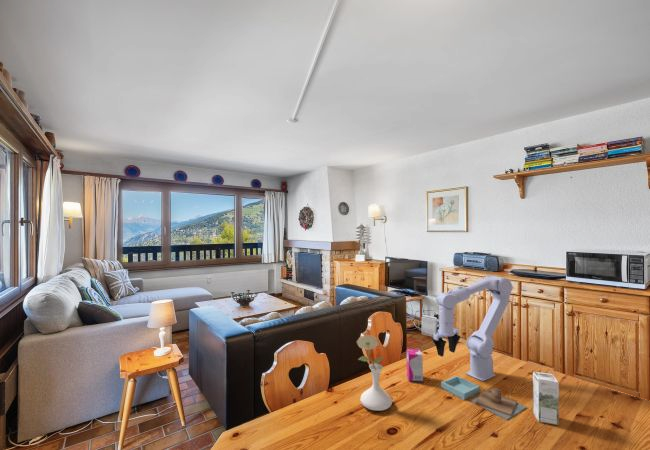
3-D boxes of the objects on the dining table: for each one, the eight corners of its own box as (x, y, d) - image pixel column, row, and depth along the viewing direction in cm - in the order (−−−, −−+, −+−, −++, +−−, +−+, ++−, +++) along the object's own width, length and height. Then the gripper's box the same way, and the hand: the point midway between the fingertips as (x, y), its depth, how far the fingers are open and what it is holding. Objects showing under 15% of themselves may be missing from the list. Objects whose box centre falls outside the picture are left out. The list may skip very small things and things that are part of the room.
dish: (456, 381, 125) (456, 375, 125) (479, 392, 117) (479, 386, 117) (441, 388, 120) (441, 382, 120) (464, 400, 112) (464, 393, 112)
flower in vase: (395, 400, 112) (394, 332, 112) (388, 417, 101) (387, 343, 102) (361, 392, 117) (361, 328, 118) (351, 408, 107) (351, 337, 107)
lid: (483, 391, 117) (483, 379, 117) (516, 402, 110) (516, 389, 110) (475, 403, 109) (475, 390, 109) (510, 416, 102) (510, 402, 102)
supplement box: (420, 375, 131) (419, 349, 131) (423, 382, 125) (423, 354, 125) (406, 375, 131) (406, 348, 131) (408, 381, 125) (408, 354, 125)
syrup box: (552, 415, 102) (551, 373, 103) (559, 426, 97) (559, 381, 97) (532, 412, 104) (532, 370, 104) (538, 422, 99) (538, 378, 99)
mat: (490, 391, 118) (490, 390, 118) (526, 407, 107) (526, 406, 107) (470, 401, 111) (470, 400, 111) (507, 420, 100) (507, 419, 100)
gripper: (448, 316, 136) (449, 347, 136) (427, 321, 128) (427, 353, 128) (463, 320, 130) (463, 352, 130) (441, 326, 122) (441, 360, 122)
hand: (446, 353), depth 128 cm, fingers open, 7 cm apart
